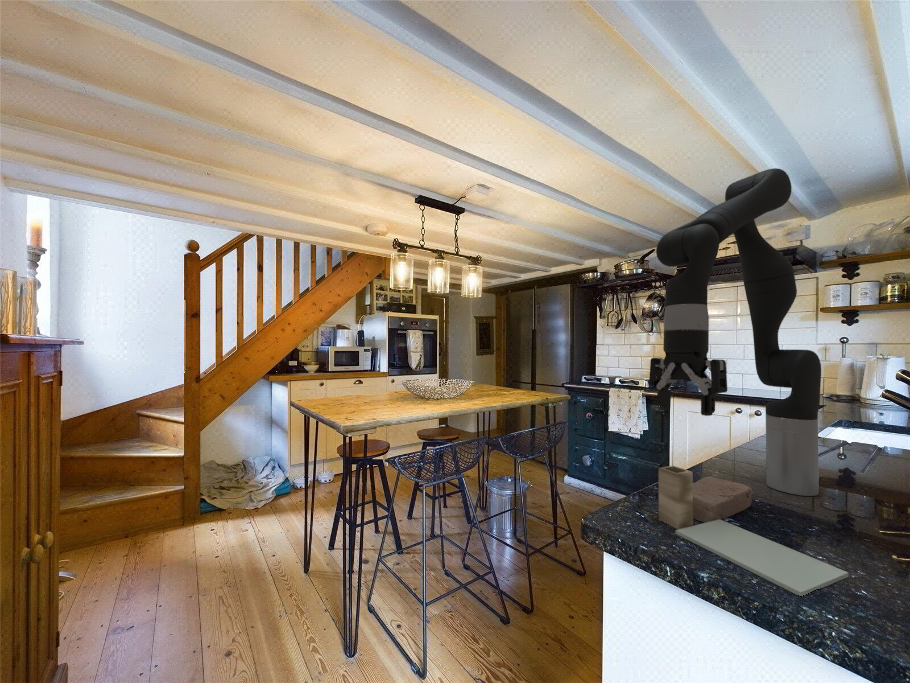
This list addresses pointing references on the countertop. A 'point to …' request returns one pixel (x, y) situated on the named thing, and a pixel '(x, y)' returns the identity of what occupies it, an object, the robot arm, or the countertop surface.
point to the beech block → (676, 496)
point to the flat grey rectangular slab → (764, 557)
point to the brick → (719, 499)
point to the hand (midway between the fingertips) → (684, 411)
